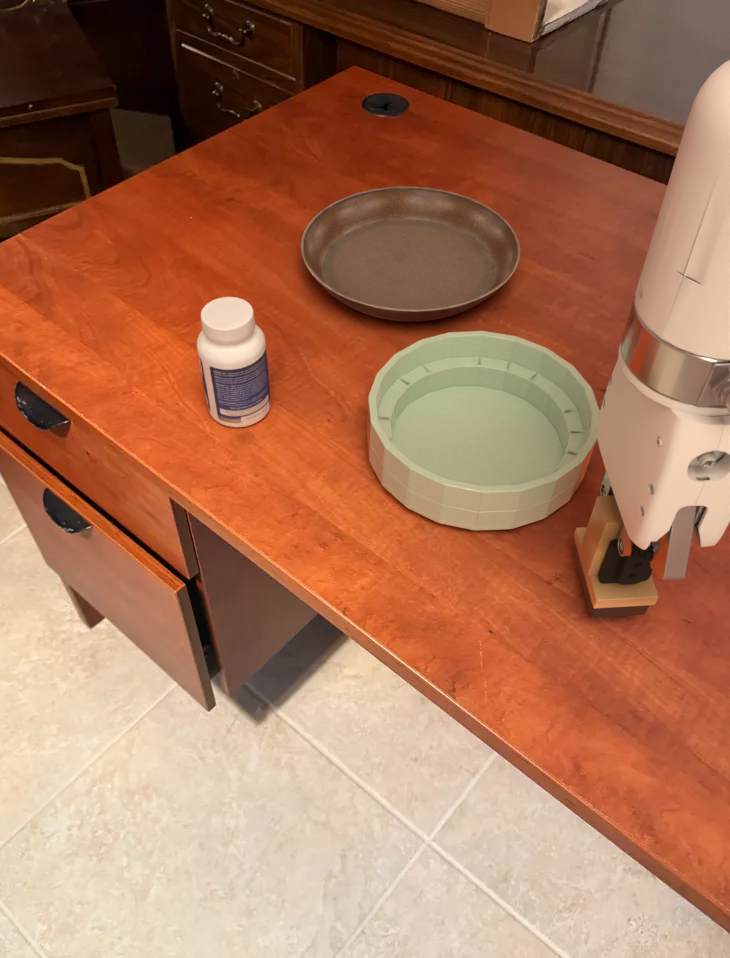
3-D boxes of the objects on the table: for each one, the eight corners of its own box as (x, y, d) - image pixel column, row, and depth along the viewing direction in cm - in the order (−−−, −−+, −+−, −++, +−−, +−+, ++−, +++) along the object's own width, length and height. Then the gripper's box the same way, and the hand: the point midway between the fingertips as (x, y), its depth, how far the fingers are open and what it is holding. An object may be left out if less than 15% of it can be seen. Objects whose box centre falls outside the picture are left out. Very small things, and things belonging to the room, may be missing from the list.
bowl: (558, 373, 72) (571, 327, 68) (607, 530, 61) (625, 486, 57) (360, 381, 71) (361, 335, 67) (375, 539, 61) (378, 496, 57)
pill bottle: (284, 405, 70) (277, 310, 62) (238, 439, 67) (225, 345, 60) (240, 376, 72) (228, 281, 64) (194, 408, 70) (176, 313, 62)
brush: (566, 549, 59) (589, 472, 52) (628, 545, 59) (659, 468, 52) (585, 621, 55) (613, 549, 49) (651, 617, 55) (688, 544, 48)
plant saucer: (333, 200, 88) (333, 171, 86) (527, 227, 85) (533, 197, 82) (275, 319, 77) (272, 289, 74) (497, 357, 73) (503, 327, 70)
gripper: (852, 456, 35) (712, 664, 50) (727, 240, 45) (640, 467, 60) (675, 467, 35) (587, 671, 50) (589, 249, 45) (536, 473, 60)
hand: (616, 559), depth 55 cm, fingers closed on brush, 2 cm apart
